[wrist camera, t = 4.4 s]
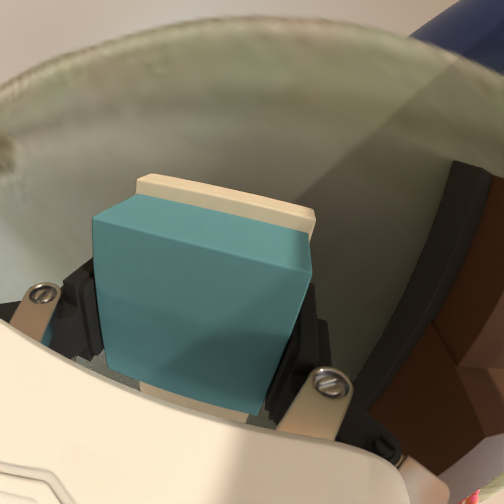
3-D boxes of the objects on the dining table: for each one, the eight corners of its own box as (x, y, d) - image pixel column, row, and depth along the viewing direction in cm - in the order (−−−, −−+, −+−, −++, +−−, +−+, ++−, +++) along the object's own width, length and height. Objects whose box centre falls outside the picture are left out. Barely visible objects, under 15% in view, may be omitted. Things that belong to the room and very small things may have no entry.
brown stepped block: (452, 159, 10) (607, 221, 2) (546, 217, 10) (641, 285, 2) (302, 451, 20) (296, 541, 12) (389, 454, 20) (398, 532, 12)
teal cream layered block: (151, 172, 10) (88, 197, 7) (314, 208, 10) (324, 254, 6) (148, 382, 15) (122, 431, 12) (246, 412, 15) (235, 467, 11)
